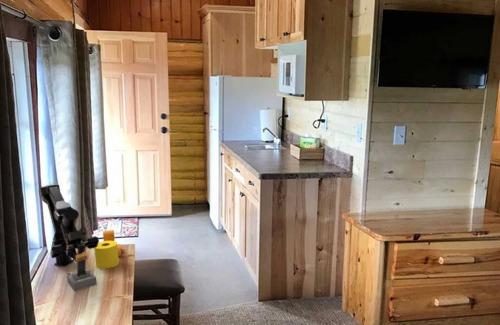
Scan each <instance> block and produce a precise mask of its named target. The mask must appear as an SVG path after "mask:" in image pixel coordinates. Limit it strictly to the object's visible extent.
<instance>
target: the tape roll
mask: <svg viewBox="0 0 500 325" xmlns="http://www.w3.org/2000/svg"><path fill="white" fill-rule="evenodd" d="M117 244H118V242H117V241H115V240H114V241H104V240H103V241H99V243H98V246H97V247H96V248H93V249H94V250H93V251H94V257H95V260H94V261H95V266H96V267H95V268H97V269H101V270H103V269H104V270H106V269H105V268H107V269H112V268H114V267H116V266H118V265H119V263H120V259H119V258H120V257H119V256H118V248H117ZM111 267H112V268H111Z"/></svg>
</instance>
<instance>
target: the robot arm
mask: <svg viewBox="0 0 500 325" xmlns="http://www.w3.org/2000/svg"><path fill="white" fill-rule="evenodd" d="M38 194H39V197H41V200H42V202H43V203H44V204H46V205H47V209H48V212H49V216H50V219H51V225H52V227H53V231H54V235H53V237H52V242H51V249H50V256H51V259H55V263H54V264H53V265H54V266H59V267H60V266H62V267H66V266H68V265H70V264H72V263H74V262H76V263H77V260H76V255H78V254H82V253H85V251H86V248H87V249H90V250H92V249H94V248H96V247H97V246H98V243H99V242H100V239H99V237H98V236H95V235H94V236H90V237H87V240H85V241H83V238H84V237H85V236H86V235H87V229H86V227H80V229H77V228H78V227H77V223H78V219H79V215H80V214H79V211H78V210H77V209H75V208H73V207H72V206H71V204H70V203H69V202H67V201H65V199H64V196H63V195H62V192H61V189H60V185H59V184H58V183H51V184H47V185H42V186H40V188H39V189H38Z"/></svg>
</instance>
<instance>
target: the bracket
mask: <svg viewBox="0 0 500 325" xmlns="http://www.w3.org/2000/svg"><path fill="white" fill-rule="evenodd" d="M102 237H103V241H115V231H114V229H109V230H103V231H102ZM117 248H118V257H120V256H121V255H122V244H118V243H117Z"/></svg>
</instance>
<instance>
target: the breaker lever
mask: <svg viewBox="0 0 500 325" xmlns="http://www.w3.org/2000/svg"><path fill="white" fill-rule="evenodd" d="M87 259H88V254H87V252H83V253H82V254H78V255H76V260H77V262H76V264H77V265H76V273H77V276H78V277H79V276H83V275H85V269H86V264H87V263H86V262H87Z"/></svg>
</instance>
